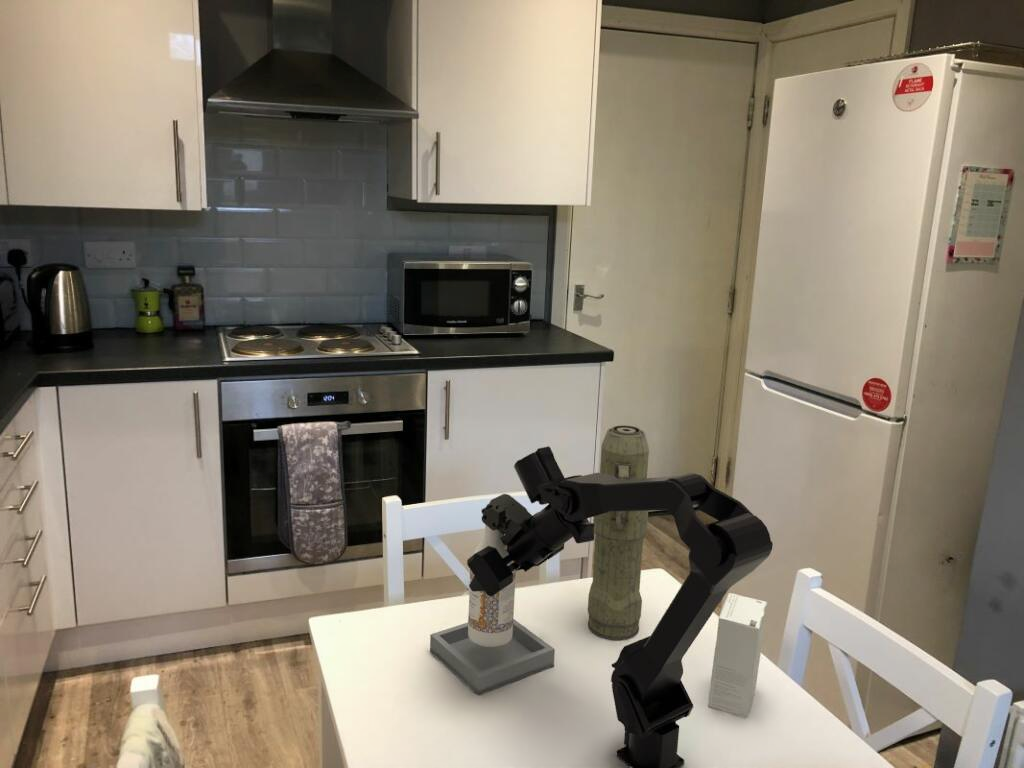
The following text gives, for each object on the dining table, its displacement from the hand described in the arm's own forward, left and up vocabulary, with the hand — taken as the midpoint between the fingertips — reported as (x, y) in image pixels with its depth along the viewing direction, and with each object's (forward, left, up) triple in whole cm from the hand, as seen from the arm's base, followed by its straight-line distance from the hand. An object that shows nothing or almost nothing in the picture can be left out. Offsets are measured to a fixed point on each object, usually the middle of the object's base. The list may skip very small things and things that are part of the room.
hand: (485, 579), depth 129 cm
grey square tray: (-1, -1, -13) cm, 13 cm away
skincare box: (-29, -25, -14) cm, 41 cm away
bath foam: (-1, 0, -9) cm, 10 cm away
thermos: (-4, -24, -13) cm, 28 cm away
